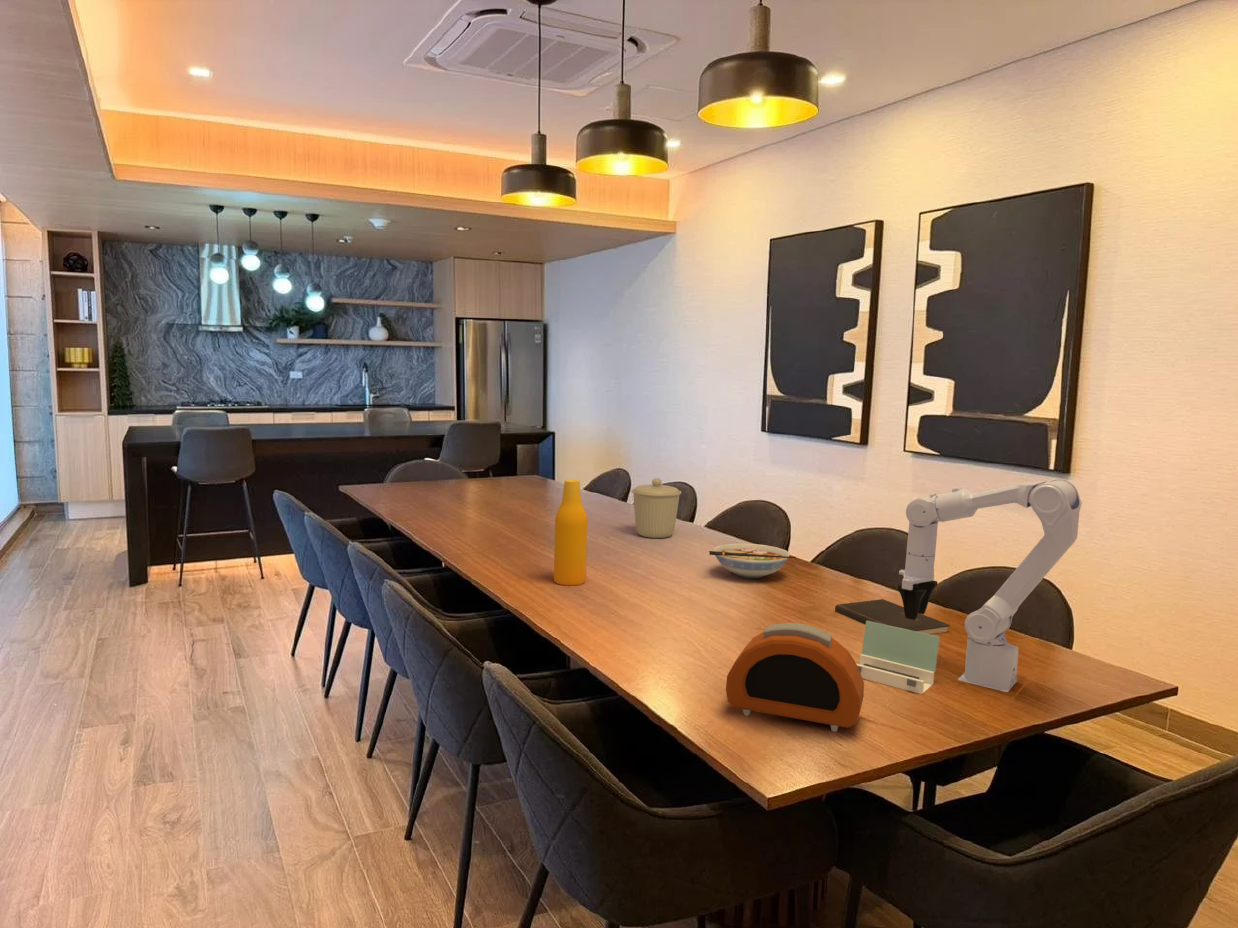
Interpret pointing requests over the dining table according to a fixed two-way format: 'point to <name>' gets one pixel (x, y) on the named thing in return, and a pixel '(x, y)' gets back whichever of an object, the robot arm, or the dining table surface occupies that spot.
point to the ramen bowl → (750, 559)
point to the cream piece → (895, 679)
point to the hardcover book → (890, 616)
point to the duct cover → (901, 645)
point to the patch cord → (891, 671)
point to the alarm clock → (797, 677)
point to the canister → (655, 509)
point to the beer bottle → (570, 537)
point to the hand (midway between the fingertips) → (914, 615)
